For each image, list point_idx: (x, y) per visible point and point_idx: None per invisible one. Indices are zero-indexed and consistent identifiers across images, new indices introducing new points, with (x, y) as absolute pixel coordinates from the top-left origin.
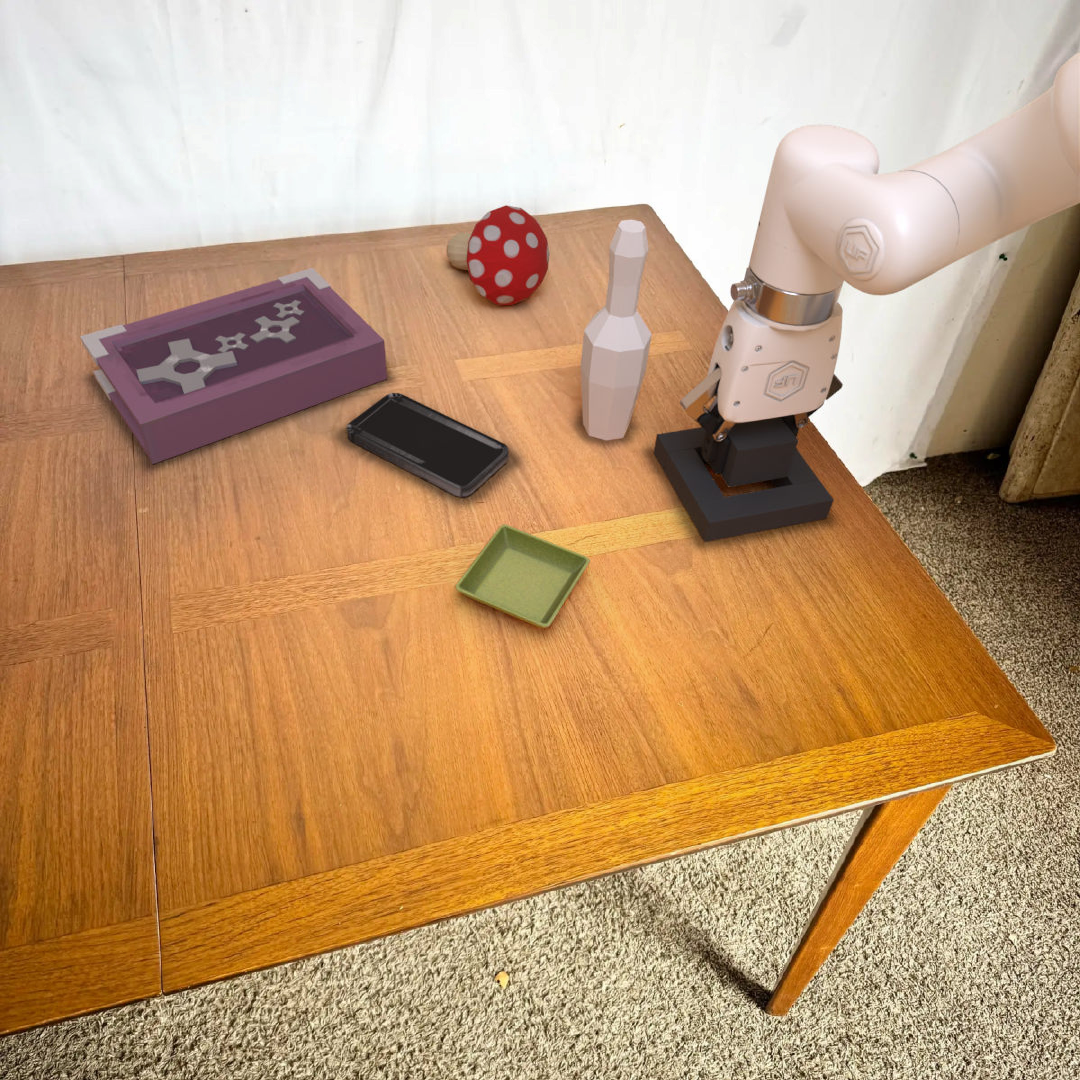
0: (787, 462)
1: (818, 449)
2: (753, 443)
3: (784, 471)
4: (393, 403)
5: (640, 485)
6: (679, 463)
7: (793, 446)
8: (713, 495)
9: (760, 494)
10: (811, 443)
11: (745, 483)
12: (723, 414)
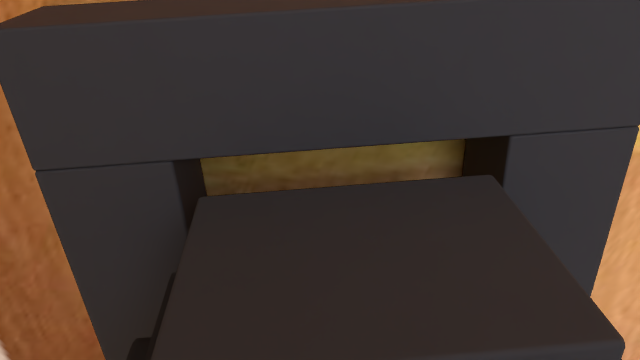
0: (205, 252)
1: (3, 328)
2: None
3: (214, 216)
4: None
5: (629, 257)
6: None
7: (179, 342)
8: (550, 150)
9: (348, 124)
10: (23, 350)
11: (413, 182)
12: None
